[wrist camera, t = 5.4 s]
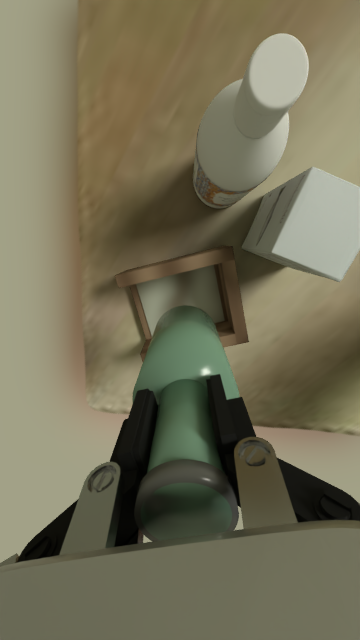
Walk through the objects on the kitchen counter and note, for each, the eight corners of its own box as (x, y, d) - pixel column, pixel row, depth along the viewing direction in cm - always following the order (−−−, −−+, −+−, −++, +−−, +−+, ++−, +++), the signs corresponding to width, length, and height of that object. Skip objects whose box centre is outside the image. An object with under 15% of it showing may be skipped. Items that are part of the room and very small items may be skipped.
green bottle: (209, 298, 21) (265, 427, 6) (222, 356, 22) (288, 562, 8) (147, 313, 21) (66, 463, 7) (163, 368, 23) (127, 582, 8)
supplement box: (263, 192, 31) (314, 160, 19) (314, 215, 31) (395, 198, 19) (238, 248, 33) (269, 252, 21) (286, 268, 33) (343, 283, 21)
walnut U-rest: (224, 245, 33) (232, 246, 27) (238, 326, 36) (248, 341, 30) (126, 270, 34) (114, 275, 28) (149, 345, 38) (143, 364, 32)
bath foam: (195, 212, 32) (210, 167, 12) (189, 151, 29) (196, -15, 10) (249, 205, 31) (348, 146, 12) (246, 142, 29) (362, -48, 10)
